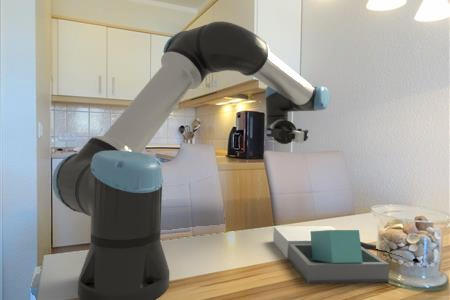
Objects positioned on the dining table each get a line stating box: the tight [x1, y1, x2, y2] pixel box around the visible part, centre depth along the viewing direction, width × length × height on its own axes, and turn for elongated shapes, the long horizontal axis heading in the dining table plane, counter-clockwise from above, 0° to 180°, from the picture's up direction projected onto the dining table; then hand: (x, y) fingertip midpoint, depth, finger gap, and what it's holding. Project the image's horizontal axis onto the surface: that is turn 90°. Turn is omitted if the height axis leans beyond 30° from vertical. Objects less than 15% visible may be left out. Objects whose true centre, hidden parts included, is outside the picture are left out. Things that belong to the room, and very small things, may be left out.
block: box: [310, 229, 363, 263], centre depth 66 cm, size 6×6×10 cm
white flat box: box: [272, 225, 338, 260], centre depth 78 cm, size 16×12×4 cm
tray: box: [287, 244, 390, 285], centre depth 66 cm, size 16×12×4 cm
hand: (300, 137), depth 80 cm, fingers closed
